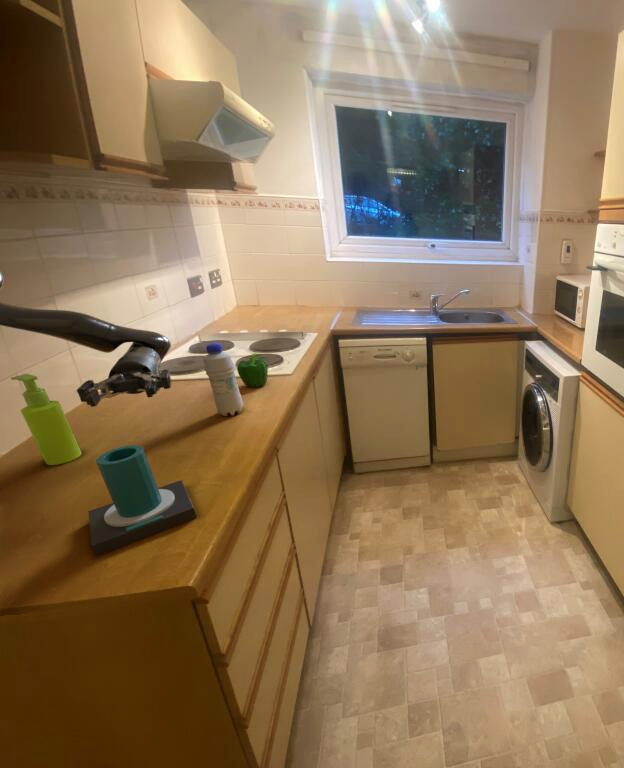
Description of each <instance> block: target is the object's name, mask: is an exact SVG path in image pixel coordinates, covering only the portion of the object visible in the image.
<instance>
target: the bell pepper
mask: <svg viewBox="0 0 624 768" xmlns="http://www.w3.org/2000/svg"><path fill="white" fill-rule="evenodd" d="M258 356H259V353H258V352H257V353H256V352H255V353H252V354H251V355H250V357H249V360H248V361H246V360H241V361H240V360H239V363H238V364H237V374H238V376H239V378H240V379H241V381H242V382H243V384H244V385H245V386H246V387H247V388H252V387H253V388H259V387H263V386H264V385H266V383H267V381H268V371H269V370H268V365H267V364H268V363H267V361H266V360H265V358H256V357H258Z"/></svg>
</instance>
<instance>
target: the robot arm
mask: <svg viewBox="0 0 624 768" xmlns="http://www.w3.org/2000/svg"><path fill="white" fill-rule="evenodd" d="M4 281H5V279H4V275H3V273H2V271H1V270H0V291H1V290H2V289H3V286H4V283H5V282H4ZM0 326H2V327H7V328H12V329H16V330H21V331H26V332H31V333H36V334H41V335H44V336H45V335H46V336H49V337H52V338H57V339H60V340H64V341H67V342H69V343H70V342H71V343H72V344H73V343H74V344H77V345H80V346H83V347H86V348H89V349H92V350H95V351H98V352H101V353H106V354H109V353H113V352H114V351H116V350H117V349H118V348H119V347H120V346H121V345H123V344H125V343H131V344H130V345H129V348H128V349H127V350H126V351H125V353H124V354H123V355H122V356H121V357H119V359H118V360H117V361H116V362H115V364H114V365H113V366H112V367H111V369H110V371H109V373H108V377H107V378H105V379H103V380H100V381H99V382H95V381H94V380H93V379H88V380H85V381H84V382H83V383H82V384H81V385H80V386H79V387H78V388H77V389H76V392H77V394H78V396H79V399H80V400H79V401H80V402H81V403H86V405H87V406H90V407H92V408H94V407H97V406H98V405H99V404H100V402H101V400H103V399H112V398H114V397H116V396H119V395H124V394H128V395H138V394H142V393H145V394H146V397H147V398H153V397H154V395H156V394H158V392H159V391H160V390H161V389H164V390H168V389H171V387H172V381H173V380H172V377H171V373H170V371H169V369H162V370H161V372H159V371H160V370H159V369H160V368H161V364H162V361H163V360H164V358H166V355H167V354H168V353H169V351H170V349H172V348H171V347H172V343H171V341H170V340H169V338H168V337H167V336H165V335H164V334H162V333H159V332H156V331H151V330H147V329H146V330H144V329H137V328H131V327H126V326H121V325H119V324H118V325H117V324H114V323H112V322H109V321H106V320H104V319H101V318H98V317H95V316H93V315H90V314H87V313H84V312H83V313H82V312H78V311H75V310H74V311H72V310H66V309H65V310H64V309H63V310H62V309H42V308H41V309H40V308H29V307H24V306H23V307H22V306H16V305H12V304H9V303H5V302H2V301H0ZM99 391H100V393H99Z"/></svg>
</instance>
